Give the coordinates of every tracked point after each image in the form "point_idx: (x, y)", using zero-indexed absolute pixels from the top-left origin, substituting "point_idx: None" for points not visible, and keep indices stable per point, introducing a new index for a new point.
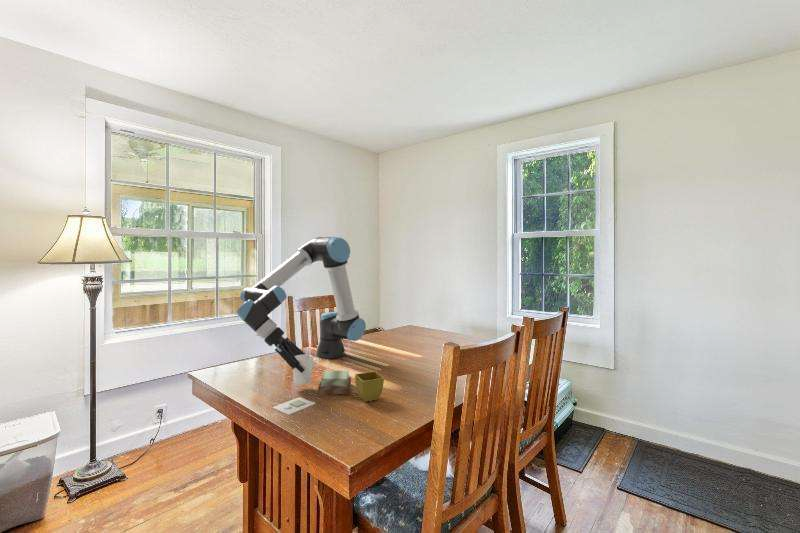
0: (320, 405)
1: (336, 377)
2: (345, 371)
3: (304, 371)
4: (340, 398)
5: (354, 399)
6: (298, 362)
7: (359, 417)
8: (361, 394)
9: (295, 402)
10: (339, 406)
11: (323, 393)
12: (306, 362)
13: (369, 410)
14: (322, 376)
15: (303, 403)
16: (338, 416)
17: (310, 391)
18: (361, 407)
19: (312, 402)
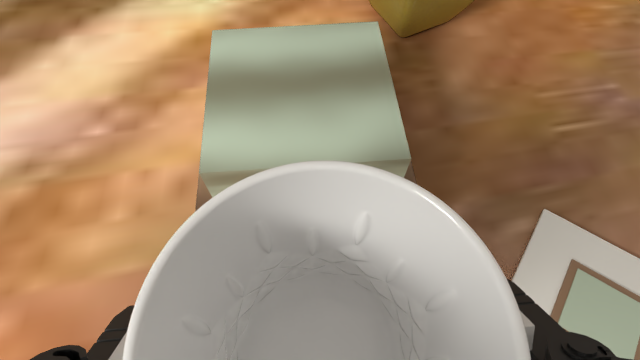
0: (551, 182)
1: (362, 74)
2: (229, 44)
3: None
4: (430, 109)
5: (426, 57)
6: (589, 346)
7: (596, 28)
8: (458, 3)
9: (594, 337)
10: (526, 101)
11: None
12: (452, 238)
13: (519, 6)
14: (356, 161)
15: (586, 276)
16: (628, 91)
17: None
18: (502, 29)
19: (540, 229)
